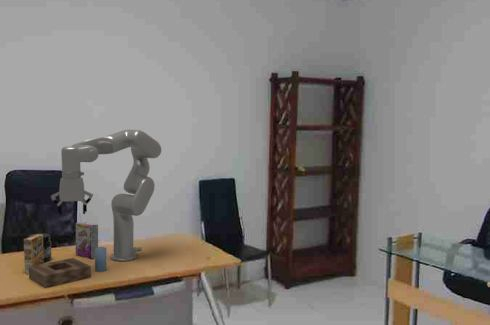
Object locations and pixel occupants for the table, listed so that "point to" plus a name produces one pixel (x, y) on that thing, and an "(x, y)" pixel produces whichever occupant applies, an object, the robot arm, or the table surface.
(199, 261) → the table surface
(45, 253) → the supplement container
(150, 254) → the table surface
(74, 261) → the peg block
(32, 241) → the candy box
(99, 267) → the peg
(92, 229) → the candy bar box
